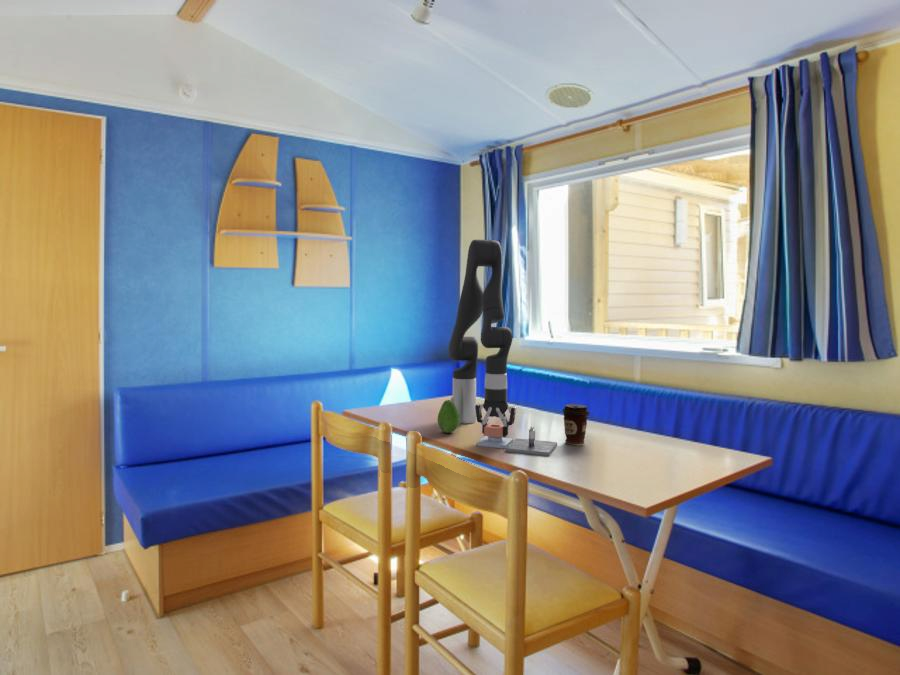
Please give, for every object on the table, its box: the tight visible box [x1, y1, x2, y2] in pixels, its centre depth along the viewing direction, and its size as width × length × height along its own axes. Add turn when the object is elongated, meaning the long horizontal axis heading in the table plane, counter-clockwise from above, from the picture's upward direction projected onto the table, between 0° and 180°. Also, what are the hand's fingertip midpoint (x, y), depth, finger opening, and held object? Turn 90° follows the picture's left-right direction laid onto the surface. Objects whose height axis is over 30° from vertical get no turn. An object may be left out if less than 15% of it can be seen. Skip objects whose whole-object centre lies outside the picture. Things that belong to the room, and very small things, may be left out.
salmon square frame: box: [483, 423, 504, 438], centre depth 206 cm, size 6×6×3 cm
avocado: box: [437, 399, 460, 434], centre depth 221 cm, size 8×8×12 cm
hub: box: [504, 426, 558, 457], centre depth 200 cm, size 14×14×7 cm
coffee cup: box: [562, 403, 590, 447], centre depth 207 cm, size 9×8×13 cm
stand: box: [475, 436, 514, 449], centre depth 206 cm, size 10×10×6 cm
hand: (495, 435), depth 206 cm, fingers closed on salmon square frame, 6 cm apart
